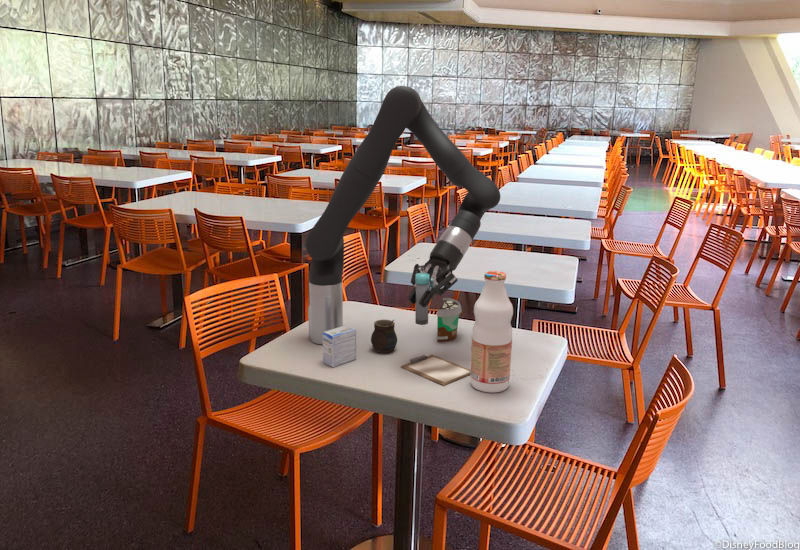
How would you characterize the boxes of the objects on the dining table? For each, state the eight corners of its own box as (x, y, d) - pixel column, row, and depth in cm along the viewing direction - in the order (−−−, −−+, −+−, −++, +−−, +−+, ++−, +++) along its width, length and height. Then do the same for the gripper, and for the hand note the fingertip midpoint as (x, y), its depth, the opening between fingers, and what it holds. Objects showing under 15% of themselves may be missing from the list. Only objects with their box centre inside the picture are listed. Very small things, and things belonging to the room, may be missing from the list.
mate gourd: (382, 343, 180) (383, 309, 177) (403, 350, 175) (404, 315, 173) (365, 350, 175) (365, 315, 172) (386, 357, 170) (387, 322, 167)
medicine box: (346, 355, 171) (345, 324, 169) (356, 359, 168) (356, 328, 166) (322, 363, 166) (321, 331, 164) (333, 368, 163) (332, 336, 161)
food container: (458, 345, 179) (459, 311, 176) (436, 343, 180) (437, 309, 178) (462, 330, 191) (464, 298, 188) (442, 328, 192) (443, 297, 189)
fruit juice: (463, 387, 153) (467, 274, 145) (480, 373, 161) (485, 266, 153) (499, 397, 148) (505, 281, 141) (515, 382, 156) (522, 272, 148)
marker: (412, 322, 160) (412, 274, 157) (421, 319, 162) (422, 272, 159) (421, 326, 157) (422, 277, 154) (431, 322, 160) (432, 274, 156)
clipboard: (400, 367, 164) (400, 362, 164) (432, 355, 171) (432, 351, 171) (443, 386, 153) (443, 381, 153) (474, 373, 161) (474, 368, 161)
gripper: (424, 235, 164) (389, 289, 159) (465, 243, 154) (429, 302, 150) (438, 251, 169) (404, 305, 164) (478, 261, 159) (444, 318, 154)
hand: (416, 303), depth 157 cm, fingers closed on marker, 3 cm apart
